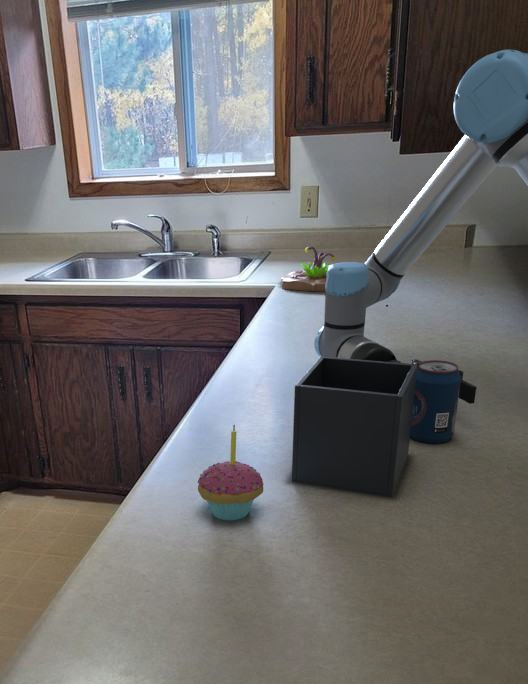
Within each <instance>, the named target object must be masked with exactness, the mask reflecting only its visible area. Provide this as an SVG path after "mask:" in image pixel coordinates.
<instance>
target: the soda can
mask: <svg viewBox="0 0 528 684" xmlns="http://www.w3.org/2000/svg"><path fill="white" fill-rule="evenodd" d="M458 370H459V365H457V363H455V362H451V361H448V360H439V359H433V360H432V359H431V360H424V361H422V362H421V363H420V364H419V365H418V369H417V377H416V386H415V395H414V404H413V413H412V422H411V431H410V439H412V440H414V441H416V442H419V443H423V444H431V445H433V444H434V445H437V444H444V443H446V442H448V441H450V439H451V438H452V437H453V436H454V433H455V426H456V421H457V411H458V405H459V399H460V398H459V391H460V383H461V376H460V374H459V371H458Z"/></svg>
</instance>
